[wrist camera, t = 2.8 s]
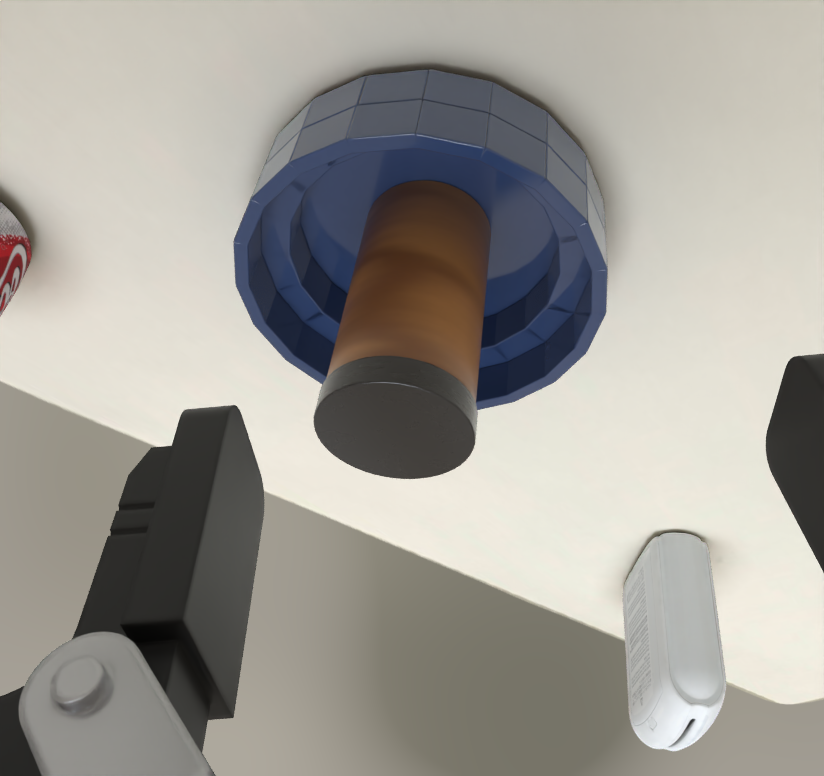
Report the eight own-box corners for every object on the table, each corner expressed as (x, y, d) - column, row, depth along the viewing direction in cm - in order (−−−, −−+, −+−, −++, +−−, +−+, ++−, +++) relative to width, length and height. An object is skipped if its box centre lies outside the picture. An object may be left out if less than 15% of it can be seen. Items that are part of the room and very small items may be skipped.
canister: (401, 293, 37) (364, 489, 30) (339, 203, 34) (281, 402, 27) (513, 260, 35) (501, 464, 28) (459, 158, 31) (430, 365, 24)
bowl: (368, 367, 43) (354, 437, 40) (193, 147, 33) (156, 217, 30) (643, 296, 36) (651, 373, 33) (527, -5, 26) (522, 65, 23)
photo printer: (671, 597, 60) (688, 769, 52) (615, 590, 60) (624, 760, 52) (715, 533, 52) (743, 725, 44) (651, 525, 52) (667, 715, 44)
